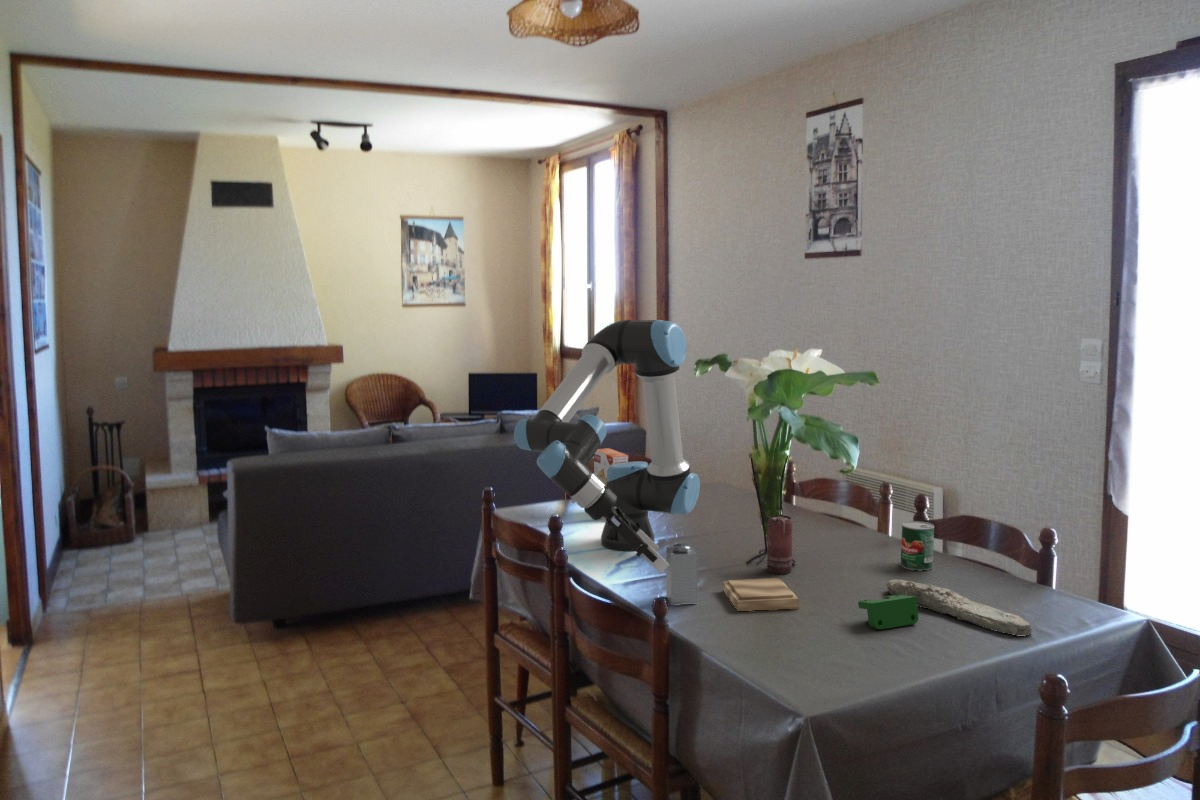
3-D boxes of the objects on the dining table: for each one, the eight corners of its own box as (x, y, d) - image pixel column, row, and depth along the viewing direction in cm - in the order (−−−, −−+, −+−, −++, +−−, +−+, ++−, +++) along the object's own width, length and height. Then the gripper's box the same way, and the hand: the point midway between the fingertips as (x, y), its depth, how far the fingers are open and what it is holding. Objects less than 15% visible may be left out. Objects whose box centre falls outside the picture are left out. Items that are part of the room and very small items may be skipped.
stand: (722, 591, 214) (722, 579, 214) (779, 588, 216) (780, 576, 215) (737, 612, 200) (737, 599, 200) (798, 609, 202) (798, 596, 201)
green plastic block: (895, 637, 196) (904, 596, 198) (913, 640, 191) (922, 599, 193) (850, 622, 193) (859, 581, 195) (867, 625, 187) (876, 582, 190)
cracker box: (593, 512, 290) (592, 448, 288) (610, 510, 293) (609, 447, 290) (612, 522, 278) (611, 456, 275) (629, 520, 280) (629, 454, 278)
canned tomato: (897, 568, 230) (899, 526, 229) (903, 560, 237) (904, 519, 236) (930, 572, 226) (932, 530, 225) (934, 564, 233) (936, 523, 232)
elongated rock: (1013, 649, 182) (1040, 641, 188) (1016, 624, 182) (1044, 617, 187) (874, 593, 211) (901, 587, 216) (877, 571, 210) (904, 566, 216)
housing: (666, 596, 211) (666, 543, 209) (691, 595, 211) (691, 542, 210) (671, 605, 205) (671, 550, 203) (696, 604, 205) (697, 549, 204)
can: (774, 575, 225) (775, 521, 223) (763, 568, 231) (763, 515, 229) (796, 573, 227) (797, 519, 225) (784, 566, 233) (785, 513, 231)
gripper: (578, 496, 214) (640, 555, 218) (587, 523, 190) (657, 589, 193) (600, 474, 214) (662, 533, 218) (612, 498, 190) (681, 564, 193)
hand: (660, 560), depth 205 cm, fingers open, 13 cm apart
